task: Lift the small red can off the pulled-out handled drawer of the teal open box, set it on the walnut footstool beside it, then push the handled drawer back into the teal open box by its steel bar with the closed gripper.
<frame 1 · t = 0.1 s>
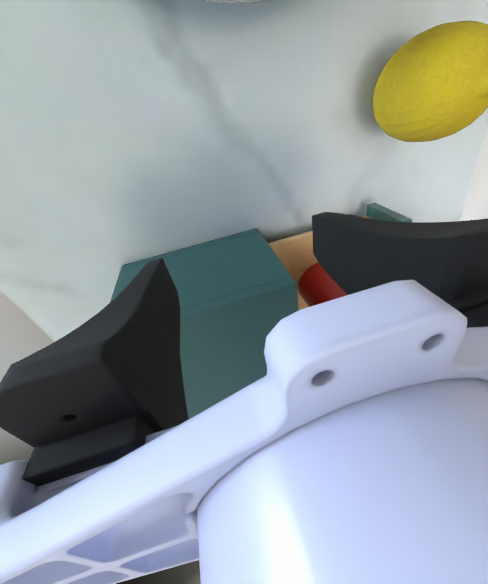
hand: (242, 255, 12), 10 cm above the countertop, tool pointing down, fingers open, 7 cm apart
handled drawer: (344, 284, 24), point 3 cm above the countertop, slide at 9.5 cm, touching can
teal open box: (210, 302, 26), on the countertop
can: (319, 281, 25), point 2 cm above the countertop, touching handled drawer
lemon: (383, 92, 19), on the countertop
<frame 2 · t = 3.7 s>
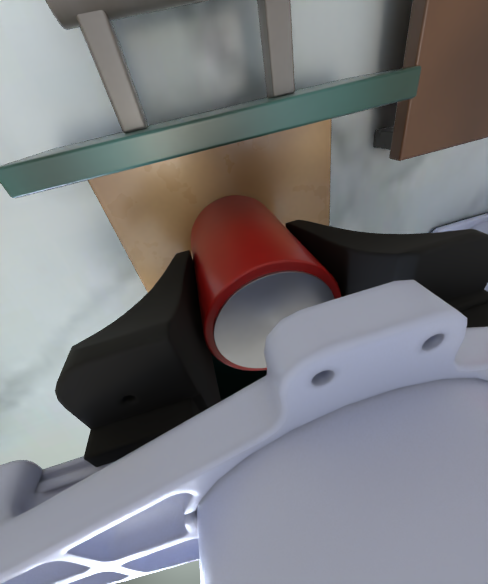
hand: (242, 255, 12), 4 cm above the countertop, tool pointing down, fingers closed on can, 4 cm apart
handled drawer: (233, 217, 11), point 3 cm above the countertop, slide at 9.5 cm, touching can
teal open box: (257, 348, 21), on the countertop
stool: (468, 23, 12), on the countertop
can: (234, 239, 13), point 2 cm above the countertop, touching gripper, handled drawer
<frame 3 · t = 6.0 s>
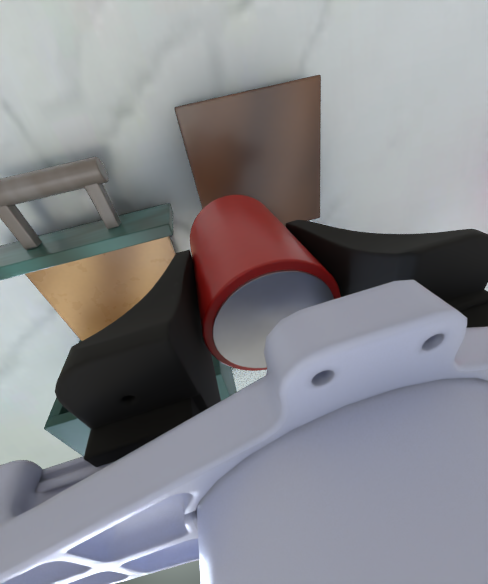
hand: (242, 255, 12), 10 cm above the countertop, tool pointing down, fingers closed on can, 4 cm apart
handled drawer: (104, 283, 19), point 3 cm above the countertop, slide at 9.5 cm
teal open box: (166, 357, 29), on the countertop
stool: (251, 165, 20), on the countertop
can: (234, 239, 13), point 9 cm above the countertop, touching gripper
when the fingers open (4 cm above the countertop, at t = 8.3 s): can stays where it is, resting on stool.
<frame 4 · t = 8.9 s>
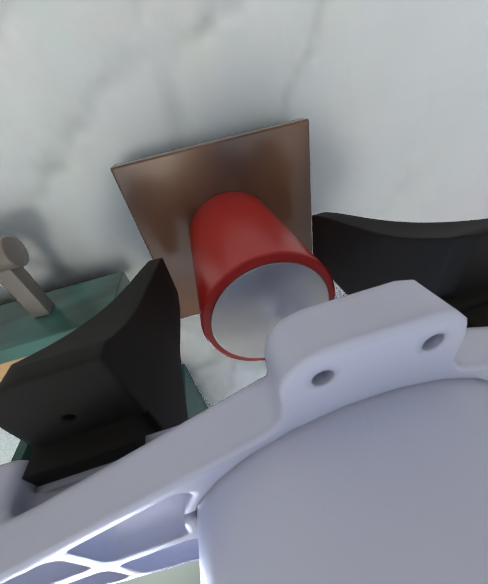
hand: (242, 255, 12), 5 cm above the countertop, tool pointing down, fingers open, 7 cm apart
handled drawer: (43, 371, 15), point 3 cm above the countertop, slide at 9.5 cm
teal open box: (140, 419, 25), on the countertop
stool: (226, 220, 16), on the countertop
can: (232, 235, 14), point 2 cm above the countertop, touching stool
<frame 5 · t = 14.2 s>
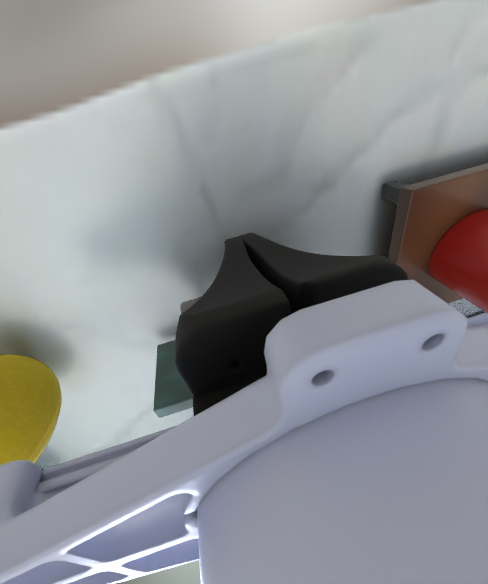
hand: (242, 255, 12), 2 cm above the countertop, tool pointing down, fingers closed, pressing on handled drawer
handled drawer: (271, 378, 17), point 3 cm above the countertop, slide at 8.8 cm, touching gripper
stool: (431, 232, 17), on the countertop
can: (464, 247, 15), point 2 cm above the countertop, touching stool
lemon: (27, 355, 16), on the countertop
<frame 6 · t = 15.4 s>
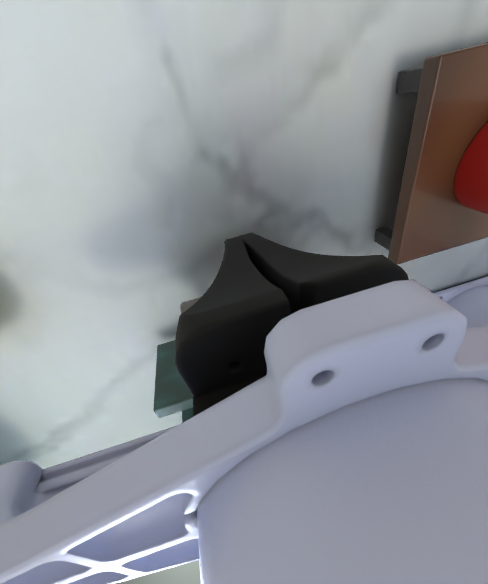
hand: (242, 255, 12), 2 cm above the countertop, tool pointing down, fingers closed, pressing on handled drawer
handled drawer: (271, 378, 17), point 3 cm above the countertop, slide at 4.0 cm, touching gripper
stool: (453, 153, 14), on the countertop
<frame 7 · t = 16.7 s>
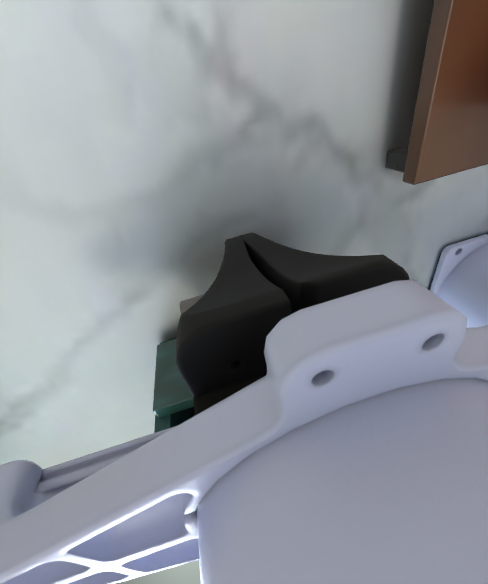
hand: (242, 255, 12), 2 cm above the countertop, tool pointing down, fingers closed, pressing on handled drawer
handled drawer: (272, 378, 17), point 3 cm above the countertop, slide at -0.3 cm, touching teal open box, gripper
teal open box: (264, 366, 21), on the countertop
stool: (484, 44, 11), on the countertop
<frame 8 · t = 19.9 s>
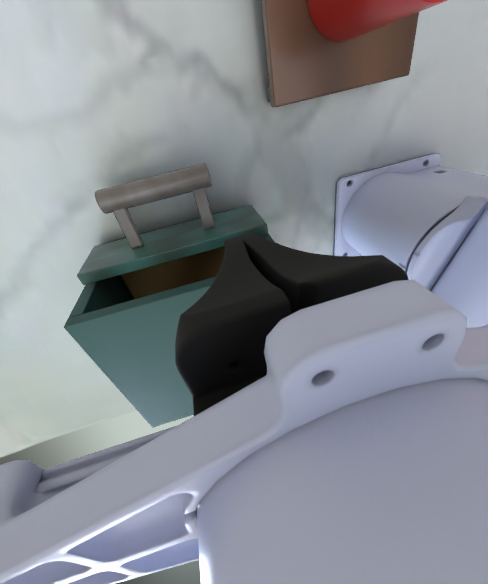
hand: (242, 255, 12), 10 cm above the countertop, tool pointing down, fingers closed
handled drawer: (190, 279, 20), point 3 cm above the countertop, slide at 0.0 cm
teal open box: (199, 288, 25), on the countertop
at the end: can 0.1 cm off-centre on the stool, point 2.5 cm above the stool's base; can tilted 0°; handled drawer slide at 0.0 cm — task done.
